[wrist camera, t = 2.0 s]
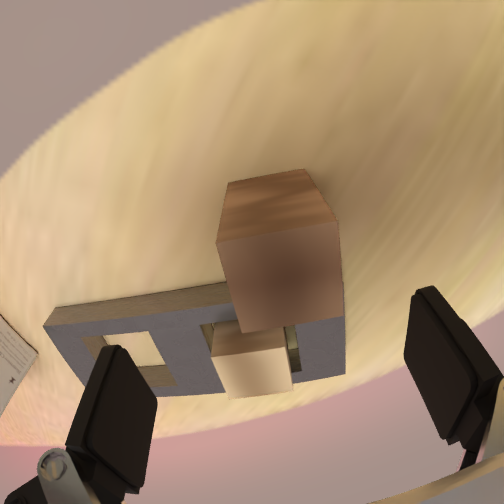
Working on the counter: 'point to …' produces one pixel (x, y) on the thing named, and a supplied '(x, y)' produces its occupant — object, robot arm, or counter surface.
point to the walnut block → (280, 252)
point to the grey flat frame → (184, 338)
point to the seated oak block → (251, 360)
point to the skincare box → (12, 362)
